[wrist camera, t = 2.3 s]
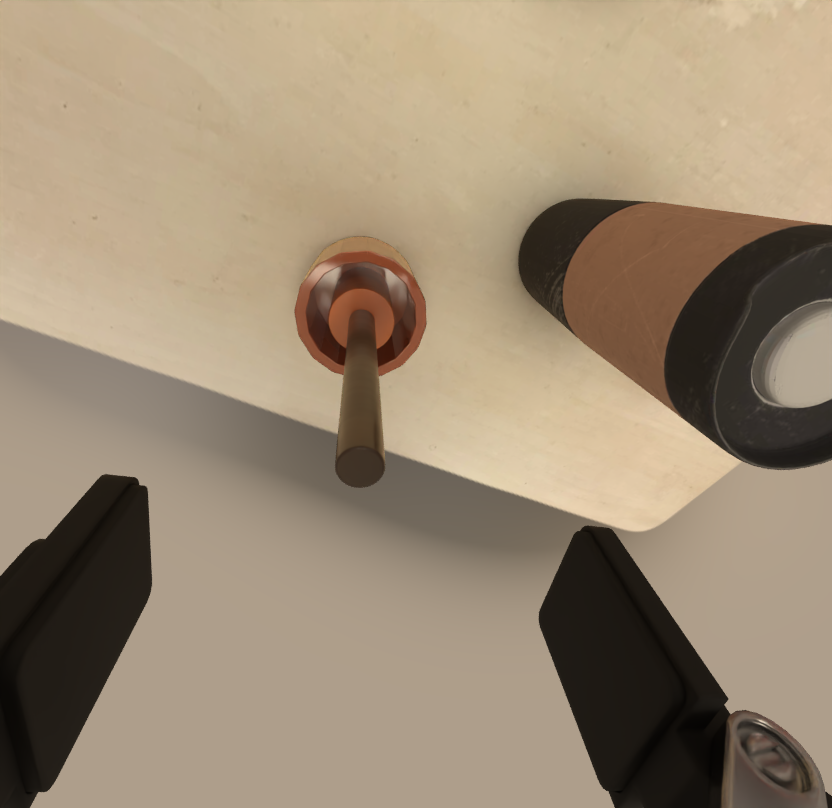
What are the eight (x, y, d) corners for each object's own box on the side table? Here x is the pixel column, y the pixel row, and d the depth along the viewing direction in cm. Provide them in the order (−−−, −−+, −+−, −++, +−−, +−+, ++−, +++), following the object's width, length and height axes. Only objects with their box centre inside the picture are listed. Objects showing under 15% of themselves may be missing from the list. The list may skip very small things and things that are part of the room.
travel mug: (607, 314, 34) (878, 476, 16) (504, 307, 33) (672, 472, 15) (638, 199, 30) (1027, 242, 13) (525, 188, 29) (774, 217, 12)
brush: (323, 298, 31) (267, 477, 13) (357, 255, 30) (349, 385, 12) (366, 332, 32) (369, 538, 14) (400, 292, 31) (450, 459, 13)
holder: (285, 298, 31) (268, 326, 26) (353, 211, 29) (351, 220, 24) (369, 363, 34) (370, 400, 28) (437, 286, 32) (452, 311, 26)
